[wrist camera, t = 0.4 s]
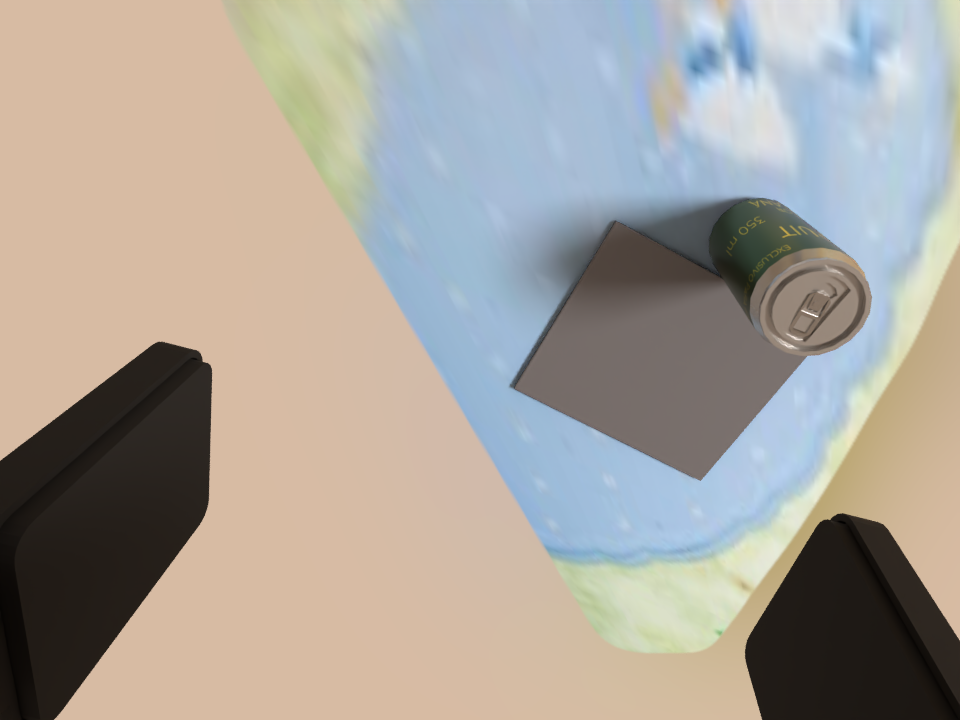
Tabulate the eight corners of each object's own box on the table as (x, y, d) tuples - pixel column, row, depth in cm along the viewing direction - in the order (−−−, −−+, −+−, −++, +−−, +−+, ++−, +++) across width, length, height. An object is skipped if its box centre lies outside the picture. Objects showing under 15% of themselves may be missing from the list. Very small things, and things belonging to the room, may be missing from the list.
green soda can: (766, 289, 43) (834, 375, 32) (691, 261, 42) (733, 337, 32) (812, 213, 40) (902, 278, 29) (732, 182, 40) (794, 237, 29)
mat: (615, 220, 42) (616, 222, 41) (823, 332, 43) (825, 334, 43) (514, 386, 48) (514, 388, 48) (699, 477, 50) (700, 480, 49)
